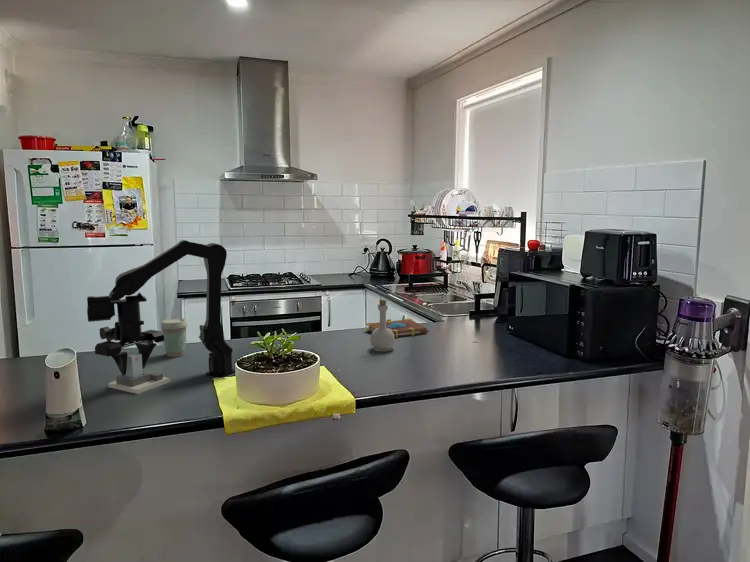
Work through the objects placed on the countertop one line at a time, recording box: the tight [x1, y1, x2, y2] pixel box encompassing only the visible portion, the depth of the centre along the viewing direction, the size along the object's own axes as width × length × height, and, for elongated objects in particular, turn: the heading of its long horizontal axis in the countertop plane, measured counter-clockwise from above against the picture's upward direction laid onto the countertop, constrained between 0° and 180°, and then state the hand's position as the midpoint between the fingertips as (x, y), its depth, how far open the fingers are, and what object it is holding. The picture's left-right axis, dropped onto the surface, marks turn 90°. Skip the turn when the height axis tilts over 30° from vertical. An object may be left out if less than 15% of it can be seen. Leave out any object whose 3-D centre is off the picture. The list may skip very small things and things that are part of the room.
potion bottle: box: [369, 299, 396, 353], centre depth 189 cm, size 9×9×18 cm
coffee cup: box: [160, 317, 188, 358], centre depth 182 cm, size 8×9×12 cm
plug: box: [124, 352, 144, 379], centre depth 152 cm, size 4×3×8 cm
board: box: [108, 371, 171, 395], centre depth 153 cm, size 12×11×3 cm
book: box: [365, 318, 430, 339], centre depth 216 cm, size 16×25×5 cm, turn 115°
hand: (133, 371), depth 152 cm, fingers open, 6 cm apart
